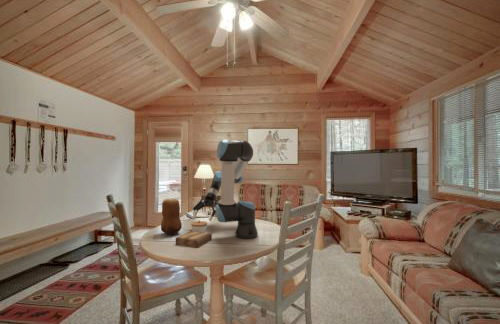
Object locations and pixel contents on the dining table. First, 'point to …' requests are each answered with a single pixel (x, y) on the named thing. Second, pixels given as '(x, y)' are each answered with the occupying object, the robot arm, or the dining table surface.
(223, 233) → the dining table surface
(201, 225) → the lidded jar
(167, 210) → the butternut squash
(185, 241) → the plinth
